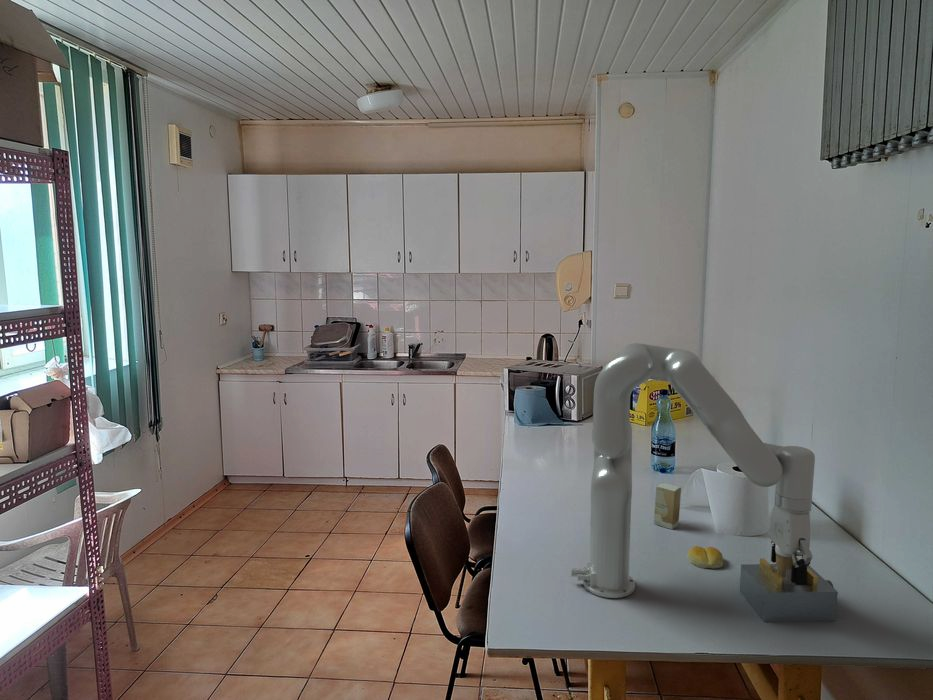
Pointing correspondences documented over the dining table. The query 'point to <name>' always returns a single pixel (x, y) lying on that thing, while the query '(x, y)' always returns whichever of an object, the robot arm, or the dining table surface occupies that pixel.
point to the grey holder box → (787, 595)
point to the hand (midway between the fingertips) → (787, 571)
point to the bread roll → (705, 557)
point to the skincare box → (667, 505)
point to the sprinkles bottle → (784, 566)
